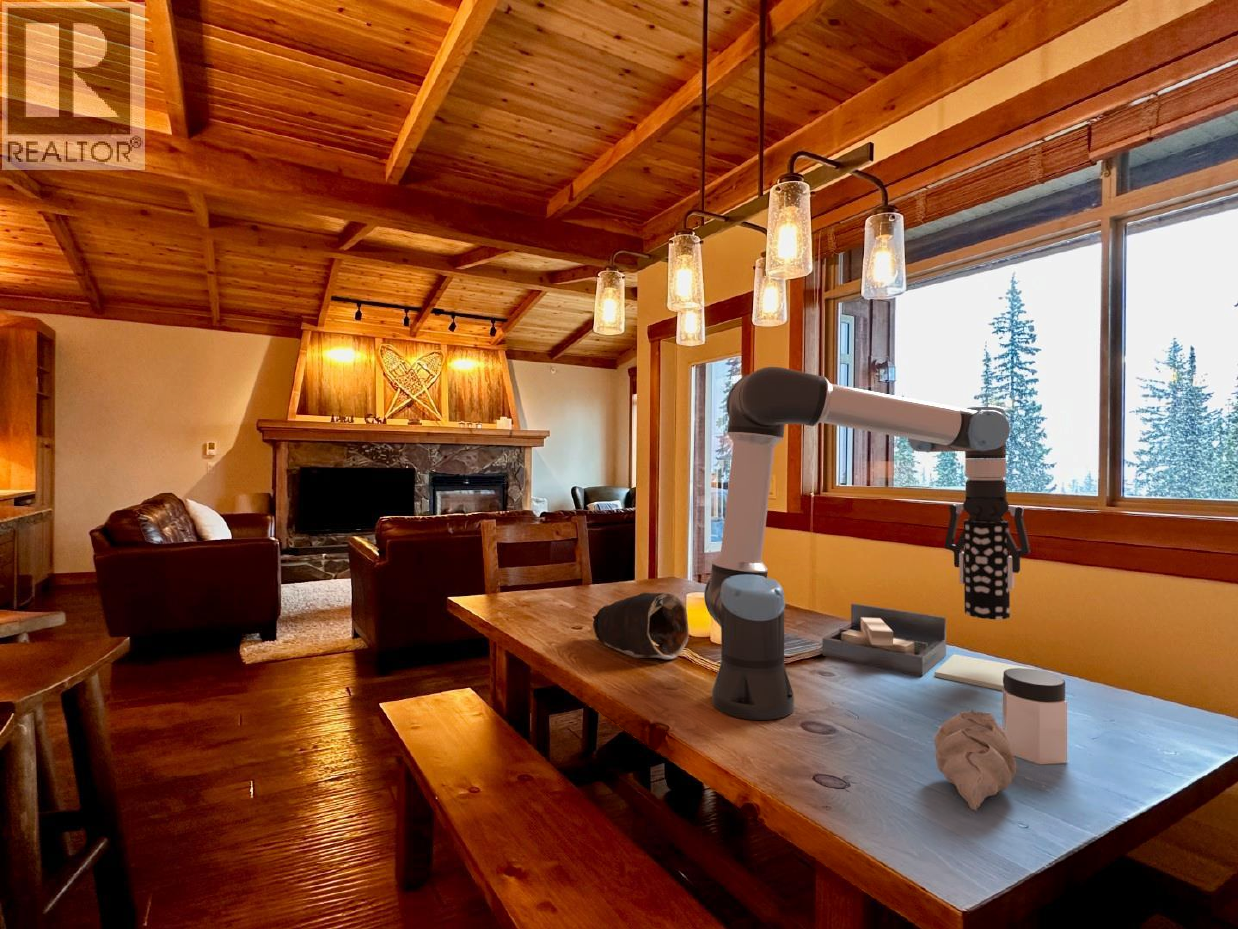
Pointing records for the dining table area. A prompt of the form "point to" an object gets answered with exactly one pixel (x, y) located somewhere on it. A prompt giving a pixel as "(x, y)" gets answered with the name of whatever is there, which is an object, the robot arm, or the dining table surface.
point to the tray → (905, 626)
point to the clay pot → (644, 625)
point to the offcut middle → (862, 639)
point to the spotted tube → (986, 569)
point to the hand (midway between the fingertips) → (986, 585)
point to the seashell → (975, 756)
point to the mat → (974, 671)
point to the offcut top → (876, 631)
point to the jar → (1035, 715)
